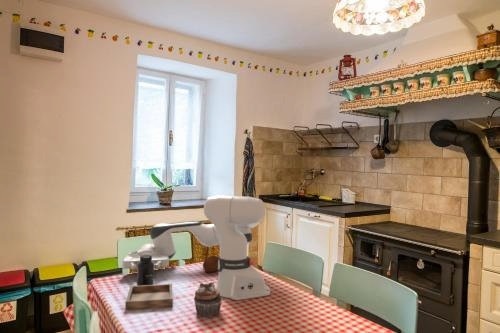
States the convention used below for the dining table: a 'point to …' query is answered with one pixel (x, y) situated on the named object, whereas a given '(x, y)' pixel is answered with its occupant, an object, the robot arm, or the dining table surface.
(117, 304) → the dining table surface
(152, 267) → the supplement bottle
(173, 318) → the dining table surface
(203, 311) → the cupcake
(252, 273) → the robot arm
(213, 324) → the dining table surface
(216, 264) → the potato
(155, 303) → the tray
